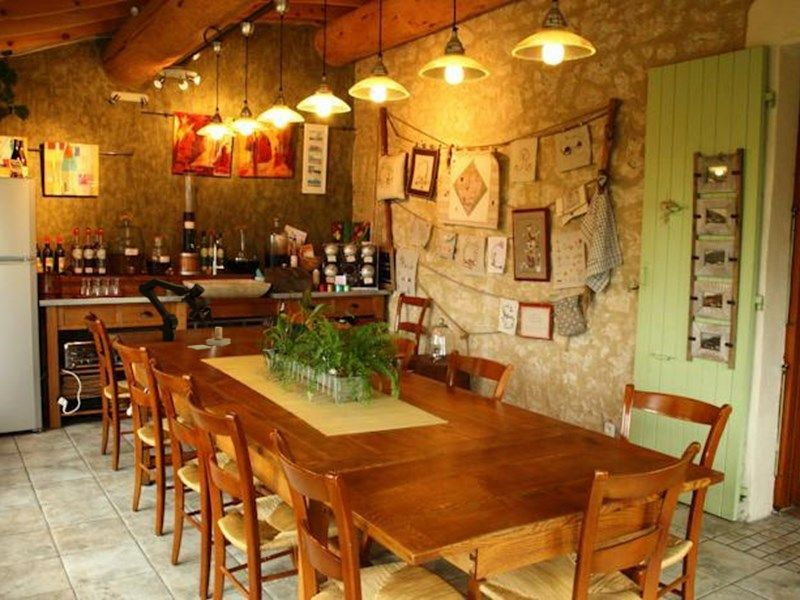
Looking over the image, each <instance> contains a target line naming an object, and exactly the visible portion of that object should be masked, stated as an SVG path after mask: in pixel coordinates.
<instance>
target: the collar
mask: <svg viewBox="0 0 800 600" xmlns="http://www.w3.org/2000/svg"><path fill="white" fill-rule="evenodd" d="M230 344H231V338H227V337H225V338H224V337H222V340H215V337H212V338H209V339H206V344H205V345H206V346H216V347H225V346H228V345H230Z"/></svg>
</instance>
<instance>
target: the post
mask: <svg viewBox="0 0 800 600" xmlns="http://www.w3.org/2000/svg"><path fill="white" fill-rule="evenodd" d="M214 329H215V330H214V338H215V340H222V338H223V327H222V326H215V328H214Z"/></svg>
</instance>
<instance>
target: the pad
mask: <svg viewBox="0 0 800 600" xmlns="http://www.w3.org/2000/svg"><path fill="white" fill-rule="evenodd" d="M186 348H189V349H193V350H197V351H198V350H206V349H213V346H211V345H206V344H197V345H196V344H195V345H188V346H187V347H186Z"/></svg>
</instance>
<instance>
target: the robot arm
mask: <svg viewBox="0 0 800 600" xmlns="http://www.w3.org/2000/svg"><path fill="white" fill-rule="evenodd" d="M157 287H159V288H161V289H164V290H168V291H171V292H172V293H173V294H174V295H176V296H178V297H181V298H180V302H181V303H186V305H187V306H188V309H189V310H190V312H189V313H188V318H189V319H191V320H193V321H196V322H198V323H201V324H203V325H206V324H207V322H206V320H208V321H209V322H211V323H215V320H214V316H213V314H212V312H213V310H214V309H213V307H212V306H210V305H211V300H210V298H208V297H207V298H204V299H203V300H201V301H200V300H197V299H198V298H200V297H201V296H202V295H203V294H204V293H205V291H206V289H205V288H204V287H203V286H201V285H200V284H199V283H194V284H193V286H192V287H191V288H189V286H188V285H184V284H183V285H181V284H175V283H171V282H168V281H166V280H163V279H160V278H159V277H157V278H156V277H155V278H152V279H150V280H149V281H147V282H145V283H141V284H140V285H139V286H138V292H139V293H140V294H141V296H143V297H145V298H146V299H147V300H149V302H150V303H151V305H152V306H153V307H154V309H155V310H156V312H157V313H158V314H159V315H160V317H161V321H162V323H163V324H162V325H161V326H160V327H159V329H160V331H161V332H162V333H161V336H162V338H161V341H162V342H173V341H175V340H176V332H175V330H176V329H177V327H178V326H179V320H178V317H177V315H176V314H175V313H170V312H169V311H168V309H167V308H166V306H165V305H164V304H163V303H162V302H161V300H160V299H159V298H158V296H157V295H156V292H155V291H156V290H155V289H156V288H157ZM183 296H184V297H183ZM208 305H209V306H208ZM204 318H205V319H206V320H205V319H204Z"/></svg>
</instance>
